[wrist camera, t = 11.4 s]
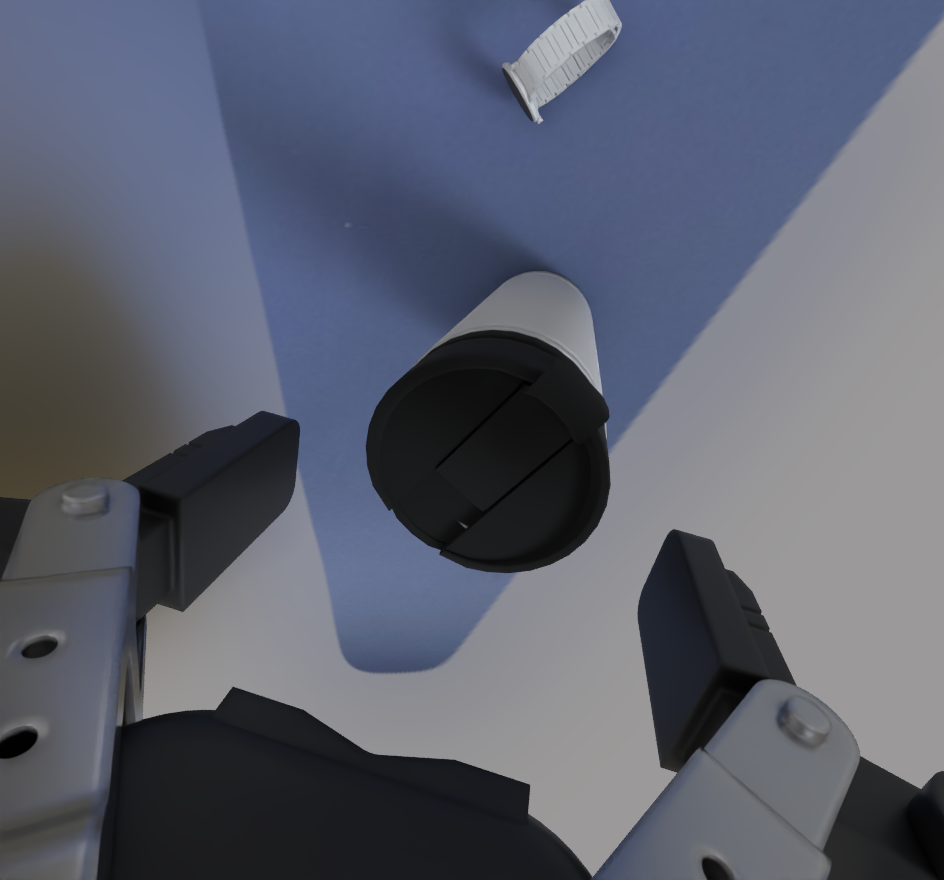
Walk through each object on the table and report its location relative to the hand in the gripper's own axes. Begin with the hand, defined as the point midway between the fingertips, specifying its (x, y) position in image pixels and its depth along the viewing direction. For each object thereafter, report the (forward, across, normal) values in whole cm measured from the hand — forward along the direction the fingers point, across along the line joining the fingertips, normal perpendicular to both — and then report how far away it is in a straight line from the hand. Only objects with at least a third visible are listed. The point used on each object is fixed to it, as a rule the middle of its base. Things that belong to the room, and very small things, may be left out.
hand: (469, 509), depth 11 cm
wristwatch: (+22, +2, -12) cm, 25 cm away
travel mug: (+22, 0, 0) cm, 22 cm away
